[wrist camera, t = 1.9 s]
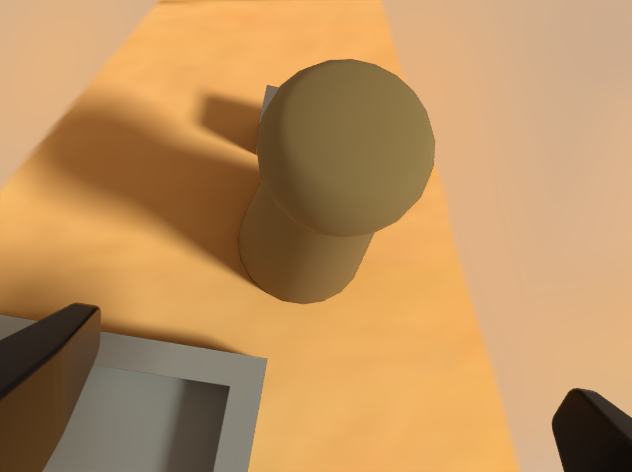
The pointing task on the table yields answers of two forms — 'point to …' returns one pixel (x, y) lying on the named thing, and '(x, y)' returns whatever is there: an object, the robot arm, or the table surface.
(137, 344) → the tray
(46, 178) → the table surface
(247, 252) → the cork
